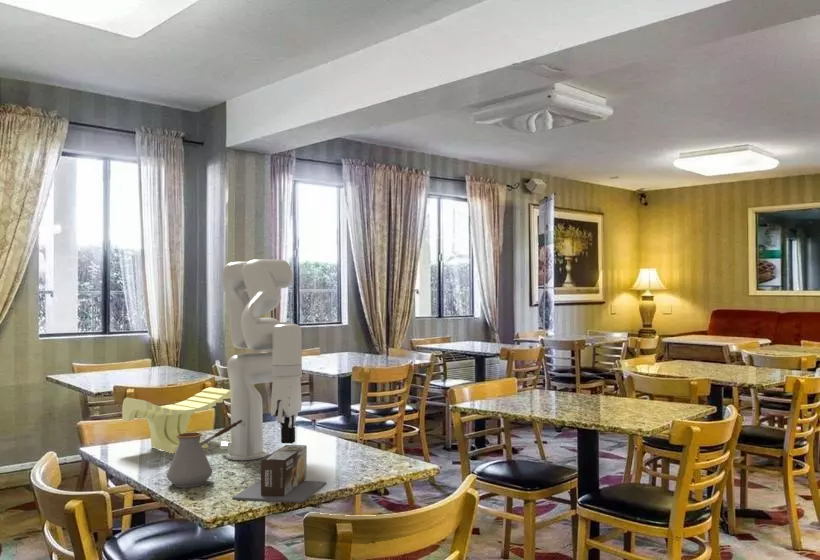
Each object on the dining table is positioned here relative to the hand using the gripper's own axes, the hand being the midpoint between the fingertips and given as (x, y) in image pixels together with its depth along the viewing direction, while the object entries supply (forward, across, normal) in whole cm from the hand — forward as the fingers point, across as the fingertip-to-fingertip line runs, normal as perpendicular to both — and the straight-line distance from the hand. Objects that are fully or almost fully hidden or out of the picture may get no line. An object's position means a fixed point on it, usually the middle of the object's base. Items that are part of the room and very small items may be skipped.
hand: (288, 442), depth 178 cm
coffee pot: (+11, -2, -24) cm, 27 cm away
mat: (+11, +5, 0) cm, 12 cm away
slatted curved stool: (+11, -39, -55) cm, 68 cm away
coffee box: (+6, -5, 0) cm, 8 cm away
